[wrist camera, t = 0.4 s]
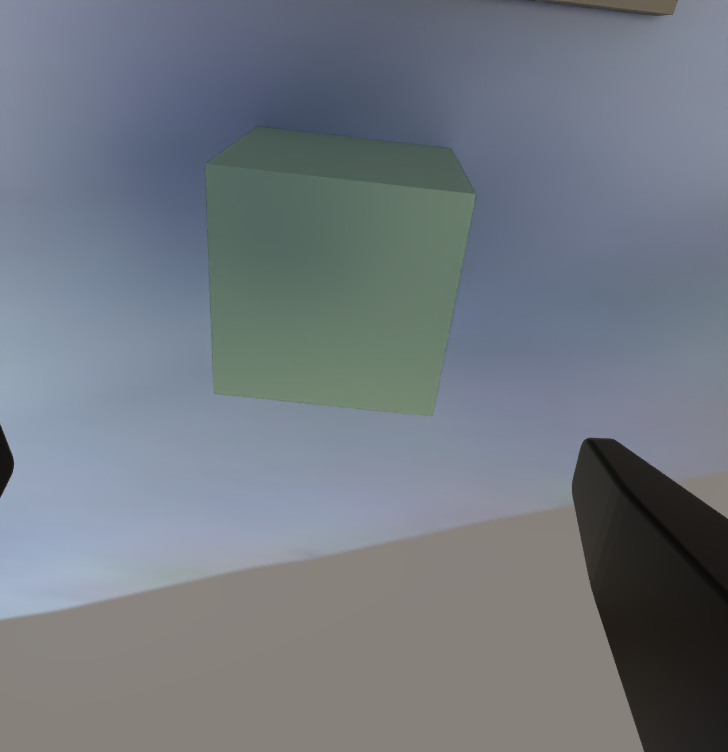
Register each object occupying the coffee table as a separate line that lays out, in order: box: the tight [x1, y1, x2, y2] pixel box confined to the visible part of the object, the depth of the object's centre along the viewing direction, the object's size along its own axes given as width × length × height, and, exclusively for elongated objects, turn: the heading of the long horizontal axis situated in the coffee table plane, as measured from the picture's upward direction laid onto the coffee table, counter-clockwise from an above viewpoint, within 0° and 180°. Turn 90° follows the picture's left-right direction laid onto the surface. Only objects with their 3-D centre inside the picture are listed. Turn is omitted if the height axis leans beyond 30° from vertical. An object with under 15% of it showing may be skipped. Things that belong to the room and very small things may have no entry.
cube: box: [205, 126, 476, 416], centre depth 17 cm, size 6×6×6 cm
